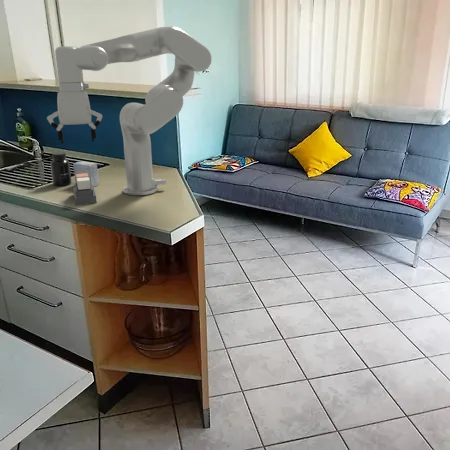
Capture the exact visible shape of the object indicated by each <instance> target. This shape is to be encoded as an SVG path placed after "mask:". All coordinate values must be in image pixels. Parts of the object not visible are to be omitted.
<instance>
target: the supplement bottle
mask: <svg viewBox="0 0 450 450" xmlns="http://www.w3.org/2000/svg"><path fill="white" fill-rule="evenodd" d="M51 155H52V159H53V160H52V161H50V170H51V178H52V184H53V186H56V187H65V186H66V187H67V186H69V185H71V184H72V175H71V167H70V165H71V164H70V161H69V160H68V159H67V155H66V152H61V151H60V152H59V151H58V152H53V153H52V154H51Z"/></svg>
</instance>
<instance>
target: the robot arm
mask: <svg viewBox="0 0 450 450" xmlns="http://www.w3.org/2000/svg"><path fill="white" fill-rule="evenodd" d="M166 54H172V55H174V67H173V71H172V72H171V73H170V74H169V75H168V76H167V77H166V78H165V79H163V80H162V81H160V82H159V83H157V84H156V85H155V86H153V87H152V88H151V89H149V90H148V91H147V93H146V95H145V104H143V103H140V102H128V103H126V104H125V105H124V106H123V107H121V110H120V112H119V125H120V128H121V134H122V139H123V141H122V142H123V153H124V165H125V176H126V178H125V179H126V185H125V186H123V188H122V191H123V194H125V195H129V196H147V195H151V194H155V193H156V192H157V191H158V190H159V189H158V185H161V186H162V185H167V180H166V179H165V178H164V179H162V178H154V175H153V161H152V160H153V157H152V142H151V136H150V135H151V134H153V133H155V132H157V131H158V130H160V129H161V128H162V127H163V126H165V125H166V124H168V123H169V122H170V121H172V119H174V118H175V117H176V116H178V114H179V113H181V110H182V109H183V107H184V106H183V105H184V97H183V96H185V95H186V94H188V92H189V91H190V90H191V88H192V86H193V84H194V79H195V78H194V77H195V72H203V71H206V70H207V69H208V68H210V66H211V64H212V55H211V52H210V50H209V49H208V48H207V47H206V46H205V44H203V43H201V42H200V41H198V39H195V38H194V37H193V36H191V35H190V34H189V33H187V32H185V31H184V30H183V29H181V28H180V27H176V26H160V27H156V28H152V29H148V30H142V31H139V32H135V33H130V34H126V35H121V36H118V37H116V38H111V39H107V40H103V41H98V42H93V43H89V44H85V45H82V46H80V47H77V46H58V47H56V49H55V51H54V55H55V61H56V70H57V79H58V86H59V87H58V88H59V92H57V97H56V99H57V100H56V101H57V105H56V106H57V111H55V112H53V113H52V114H50V115H48V116H46V120H47V121H48V123H49V124H50V126H51V127H53V128H54V129H55V130H56V132H57V135H58V141H60V142H61V144H64V143H65V140H64V132H63V130H62V128H64V126H65V125H66V126H69V125H73V126H74V125H88V126H89V127H90V138H91V142H95V139H97V135H96V129H97V128H98V126H99V125H100V124H101V121H102V119H103V115H102V113H99V112H96V111H94V110H92V109H91V105H90V104H91V103H90V99H89V96H88V95H89V93H88V92H87V91H85V90H86V89H89V86H90V85H89V83H85V82H84V73H83V71H92V72H99V71H102V70H103V69H105V68H106V67H107V66H108V65H111V64H117V63H132V62H134V63H135V62H138V61H141V60H146V59H150V58H153V57H158V56H161V55H166ZM92 116H94V117H97V118H96V120H95V121H94V122H93V121H92ZM57 117H58V121H59V123H58V124H57V123H56V122H54V119H55V118H57Z"/></svg>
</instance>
